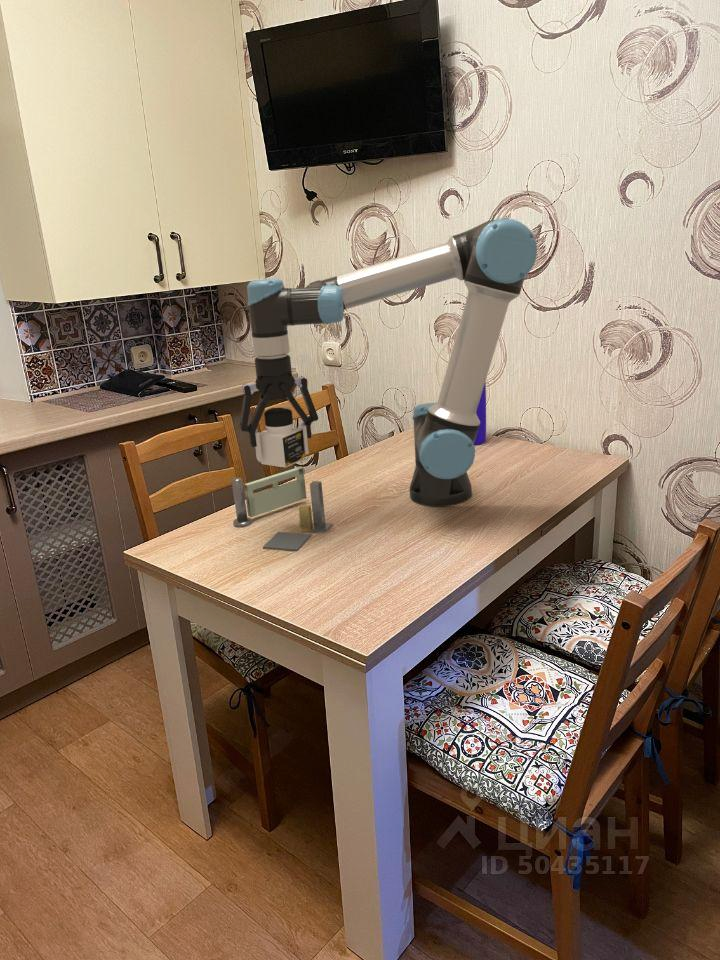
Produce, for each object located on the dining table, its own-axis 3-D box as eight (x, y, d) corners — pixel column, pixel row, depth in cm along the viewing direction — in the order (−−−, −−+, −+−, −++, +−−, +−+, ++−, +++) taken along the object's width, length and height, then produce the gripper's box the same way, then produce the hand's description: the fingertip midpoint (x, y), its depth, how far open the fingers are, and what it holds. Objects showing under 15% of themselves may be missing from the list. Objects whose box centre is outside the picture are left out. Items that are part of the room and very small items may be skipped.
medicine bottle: (286, 468, 152) (280, 414, 148) (260, 464, 156) (254, 411, 152) (305, 458, 158) (300, 406, 154) (280, 455, 162) (275, 403, 157)
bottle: (458, 446, 210) (455, 345, 200) (459, 438, 218) (456, 340, 208) (486, 445, 209) (485, 343, 199) (486, 437, 217) (485, 339, 207)
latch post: (332, 525, 161) (328, 479, 157) (325, 533, 157) (321, 486, 153) (308, 523, 163) (304, 478, 159) (301, 531, 159) (296, 485, 155)
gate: (251, 517, 166) (247, 485, 163) (248, 515, 167) (243, 484, 164) (306, 498, 175) (303, 467, 173) (303, 497, 176) (300, 466, 174)
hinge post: (255, 520, 167) (249, 476, 163) (247, 527, 163) (240, 482, 159) (238, 518, 168) (232, 475, 165) (230, 526, 165) (223, 481, 161)
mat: (311, 535, 156) (311, 534, 156) (297, 551, 149) (296, 549, 149) (278, 533, 159) (278, 531, 159) (262, 548, 152) (262, 546, 152)
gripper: (318, 347, 155) (326, 444, 163) (216, 359, 149) (229, 459, 157) (327, 351, 149) (335, 453, 156) (221, 364, 142) (235, 469, 150)
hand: (282, 456), depth 156 cm, fingers closed on medicine bottle, 10 cm apart
